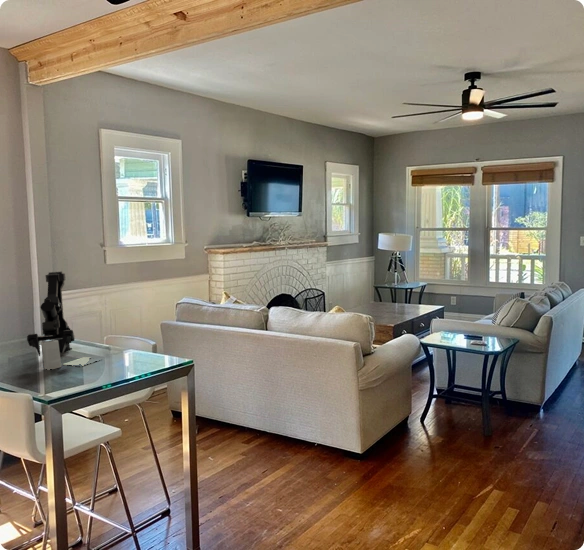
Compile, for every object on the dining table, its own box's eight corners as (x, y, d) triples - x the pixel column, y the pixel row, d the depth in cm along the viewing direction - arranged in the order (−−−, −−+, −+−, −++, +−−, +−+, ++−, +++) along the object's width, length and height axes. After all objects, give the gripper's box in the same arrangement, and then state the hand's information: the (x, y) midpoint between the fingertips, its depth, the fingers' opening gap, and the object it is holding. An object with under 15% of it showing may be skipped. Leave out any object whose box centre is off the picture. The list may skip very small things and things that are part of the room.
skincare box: (58, 365, 243) (54, 339, 241) (61, 367, 240) (58, 340, 238) (44, 369, 239) (40, 342, 237) (47, 370, 236) (44, 343, 234)
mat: (84, 357, 254) (84, 356, 254) (102, 359, 248) (102, 359, 248) (62, 364, 244) (62, 364, 243) (81, 367, 238) (81, 366, 238)
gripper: (25, 316, 238) (23, 346, 228) (70, 311, 243) (70, 341, 233) (30, 330, 246) (28, 360, 237) (74, 325, 251) (74, 355, 242)
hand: (50, 354), depth 237 cm, fingers open, 9 cm apart
